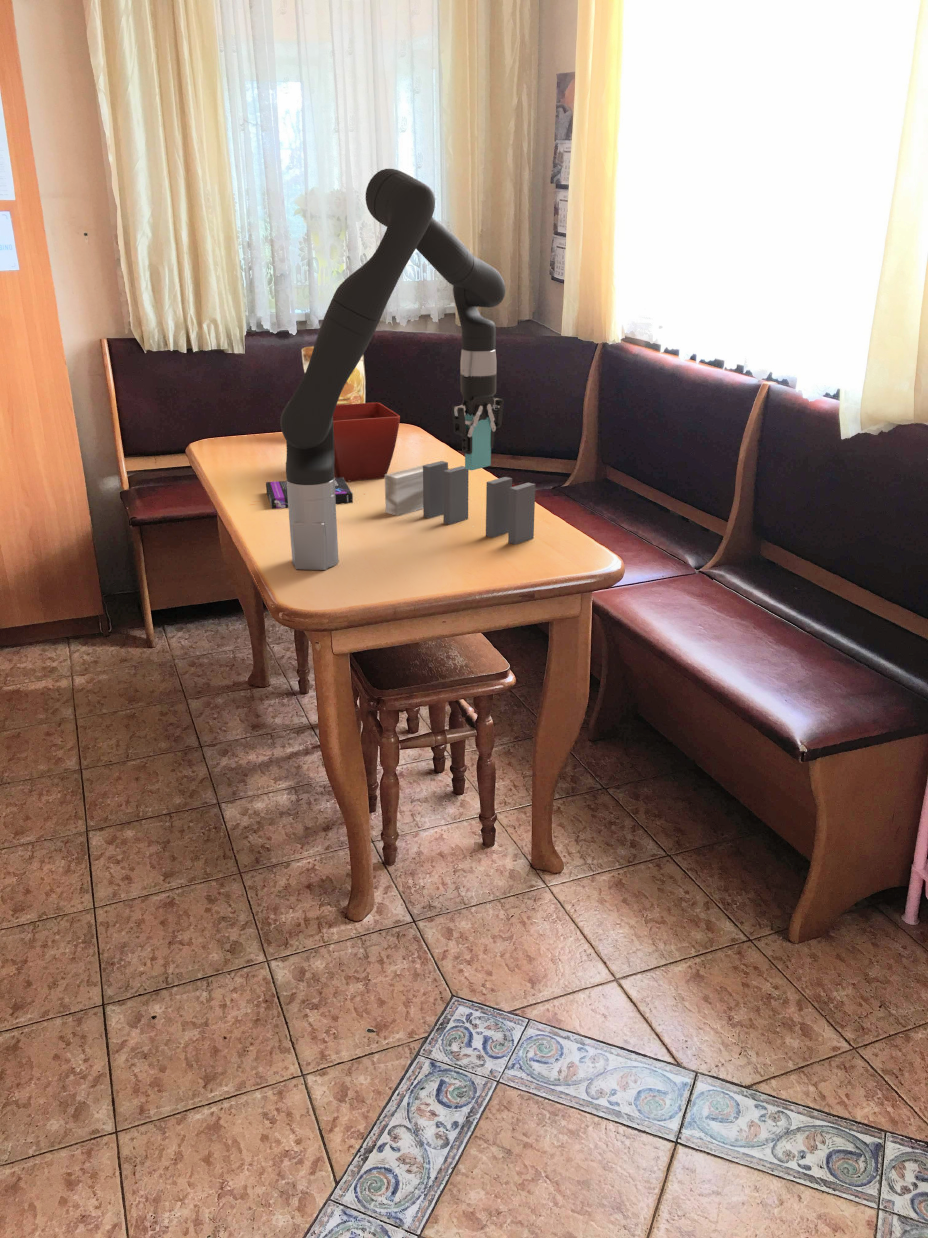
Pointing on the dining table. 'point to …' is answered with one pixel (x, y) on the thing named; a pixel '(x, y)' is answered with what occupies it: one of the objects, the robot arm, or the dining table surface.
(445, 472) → the domino
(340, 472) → the plant pot
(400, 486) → the block
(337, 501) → the box
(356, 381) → the pancake mix bag
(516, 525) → the domino
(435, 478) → the domino
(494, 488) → the domino
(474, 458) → the domino
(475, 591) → the dining table surface
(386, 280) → the robot arm
